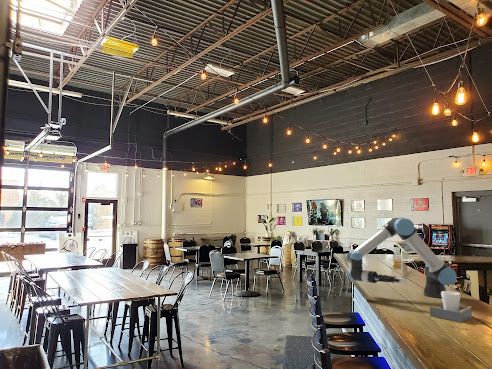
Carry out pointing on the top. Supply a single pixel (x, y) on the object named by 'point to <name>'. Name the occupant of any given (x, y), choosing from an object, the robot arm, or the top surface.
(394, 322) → the top surface
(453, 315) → the box
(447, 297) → the foam cup
